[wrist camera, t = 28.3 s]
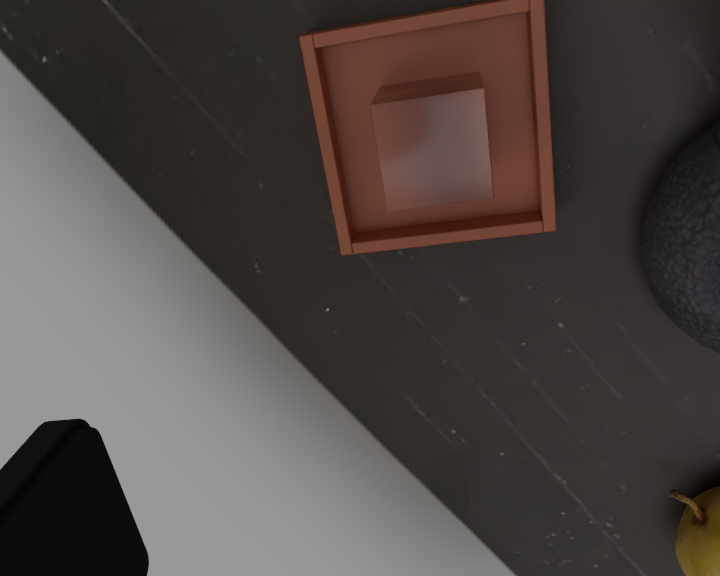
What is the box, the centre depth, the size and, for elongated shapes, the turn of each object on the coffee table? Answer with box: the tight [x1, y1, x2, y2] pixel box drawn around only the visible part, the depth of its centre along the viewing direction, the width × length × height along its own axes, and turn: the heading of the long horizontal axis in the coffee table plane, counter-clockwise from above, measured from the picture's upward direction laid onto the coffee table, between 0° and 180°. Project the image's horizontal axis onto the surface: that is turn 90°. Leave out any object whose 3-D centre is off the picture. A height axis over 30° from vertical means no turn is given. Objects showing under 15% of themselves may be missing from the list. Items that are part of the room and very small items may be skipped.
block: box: [370, 72, 494, 212], centre depth 29 cm, size 4×4×4 cm
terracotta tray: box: [299, 0, 557, 255], centre depth 31 cm, size 10×10×2 cm
